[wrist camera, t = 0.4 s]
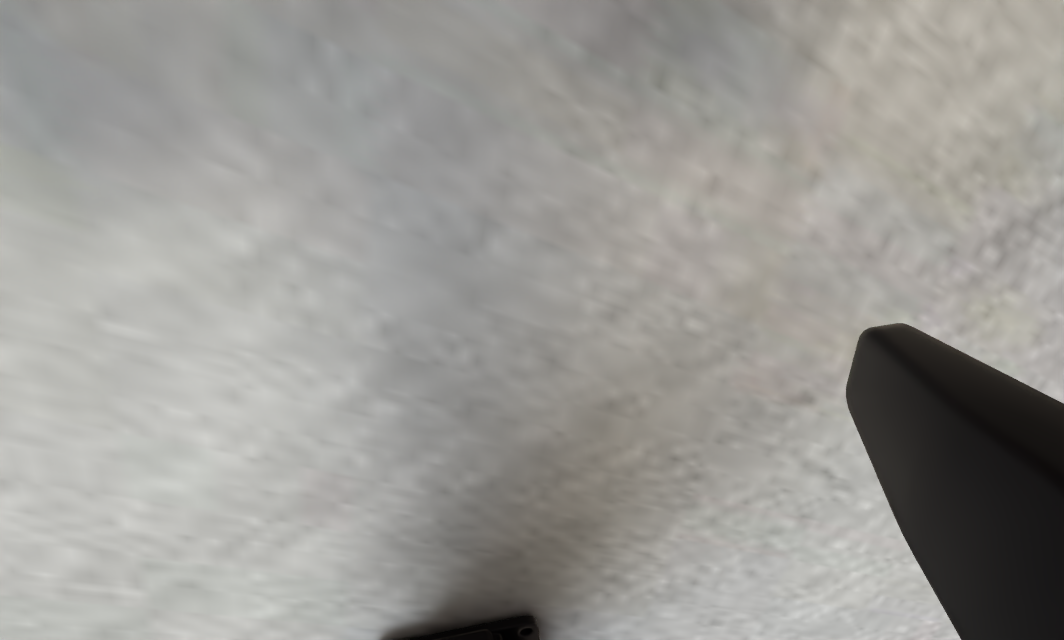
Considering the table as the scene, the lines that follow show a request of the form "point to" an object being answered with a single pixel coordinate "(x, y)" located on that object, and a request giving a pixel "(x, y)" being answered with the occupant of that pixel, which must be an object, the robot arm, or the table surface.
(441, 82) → the table surface
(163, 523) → the table surface
